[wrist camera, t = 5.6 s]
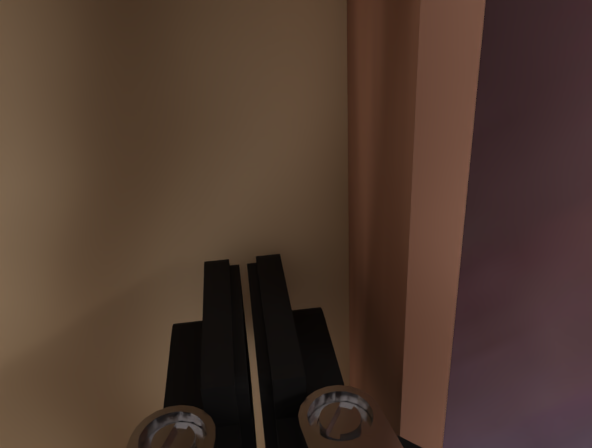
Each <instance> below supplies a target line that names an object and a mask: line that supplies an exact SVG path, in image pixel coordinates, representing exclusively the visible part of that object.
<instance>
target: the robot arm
mask: <svg viewBox="0 0 592 448" xmlns="http://www.w3.org/2000/svg"><path fill="white" fill-rule="evenodd" d="M247 270H248V280H249V290H250V300H251V310H252V320H253V330H254V340H255V350H256V361H257V371H258V381H259V390H260V400H261V410H262V420H263V430H264V440H265V448H422V447H420V446H418V445H416V444H414V443H412V442H410V441H408V440H406V439H404V438H402V437H400V436H398V435H396V434H395V432H394V430H393V428H392V427H391V425H390V423H389V421H388V420H387V418H386V416H385V414H384V413H383V411H382V409H381V407H380V406H379V404H378V403H377V402H376V401H375V399H374V398H373V397H372V396H371V395H369V394H368V393H366V392H365V391H363V390H361V389H358V388H355V387H352V386H345V385H344V382H343V378H342V375H341V371H340V368H339V365H338V361H337V358H336V354H335V351H334V347H333V344H332V341H331V337H330V334H329V330H328V327H327V324H326V320H325V317H324V313H323V310H322V308H321V307H317V308H308V309H299V310H292V309H291V304H290V299H289V294H288V289H287V285H286V280H285V275H284V270H283V266H282V261H281V256H280V254H272V255H263V256H256V263H248V264H247ZM126 448H257V443H256V431H255V419H254V407H253V395H252V383H251V372H250V361H249V352H248V343H247V333H246V324H245V314H244V305H243V296H242V286H241V277H240V267H239V264H238V265H230V263H229V259H224V260H215V261H205V262H204V284H203V317H202V321H194V322H185V323H176V324H173V326H172V332H171V341H170V351H169V360H168V369H167V378H166V388H165V397H164V406H163V409H161V410H158V411H155V412H154V413H152V414H151V415H149V416H147V417H146V418H144V419H143V420H142V421H141V422H140V423H139V424H138V425H137V426H136V427H135V429H134V431H133V433H132V435H131V437H130V439H129V441H128V444H127V447H126Z"/></svg>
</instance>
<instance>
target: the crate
mask: <svg viewBox="0 0 592 448" xmlns="http://www.w3.org/2000/svg"><path fill="white" fill-rule="evenodd" d="M485 1H486V0H0V448H126V447H127V444H128V441H129V439H130V437H131V435H132V433H133V431H134V429H135V427H136V426H137V425H138V424H139V423H140V422H141V421H142V420H143V419H144V418H146V417H147V416H149V415H151V414H152V413H154V412H155V411H158V410H161V409H163V406H164V397H165V388H166V378H167V369H168V360H169V351H170V341H171V332H172V326H173V324H176V323H185V322H194V321H202V317H203V284H204V262H205V261H215V260H224V259H229V263H230V265H238V264H239V267H240V277H241V286H242V296H243V305H244V314H245V324H246V333H247V343H248V352H249V361H250V372H251V383H252V395H253V407H254V419H255V431H256V443H257V448H265V440H264V430H263V420H262V410H261V400H260V390H259V381H258V371H257V361H256V350H255V340H254V330H253V320H252V310H251V300H250V290H249V280H248V270H247V264H248V263H256V256H263V255H272V254H280V256H281V261H282V266H283V270H284V275H285V280H286V285H287V289H288V294H289V299H290V304H291V309H292V310H299V309H308V308H317V307H321V308H322V310H323V313H324V317H325V320H326V324H327V327H328V330H329V334H330V337H331V341H332V344H333V347H334V351H335V354H336V358H337V361H338V365H339V368H340V371H341V375H342V378H343V382H344V385H345V386H352V387H355V388H358V389H361V390H363V391H365V392H366V393H368V394H369V395H371V396H372V397H373V398H374V399H375V401H376V402H377V403H378V404H379V406H380V407H381V409H382V411H383V413H384V414H385V416H386V418H387V420H388V421H389V423H390V425H391V427H392V428H393V430H394V432H395V434H396V435H398V436H400V437H402V438H404V439H406V440H408V441H410V442H412V443H414V444H416V445H418V446H420V447H422V448H442V446H443V436H444V426H445V415H446V405H447V395H448V384H449V374H450V364H451V353H452V343H453V332H454V322H455V312H456V301H457V291H458V281H459V270H460V260H461V250H462V239H463V229H464V219H465V208H466V198H467V188H468V177H469V167H470V157H471V146H472V136H473V126H474V115H475V105H476V95H477V84H478V74H479V63H480V53H481V43H482V32H483V22H484V12H485Z"/></svg>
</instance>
